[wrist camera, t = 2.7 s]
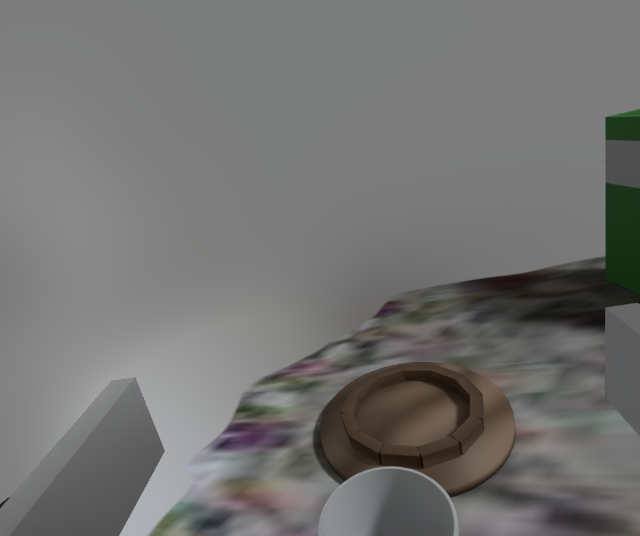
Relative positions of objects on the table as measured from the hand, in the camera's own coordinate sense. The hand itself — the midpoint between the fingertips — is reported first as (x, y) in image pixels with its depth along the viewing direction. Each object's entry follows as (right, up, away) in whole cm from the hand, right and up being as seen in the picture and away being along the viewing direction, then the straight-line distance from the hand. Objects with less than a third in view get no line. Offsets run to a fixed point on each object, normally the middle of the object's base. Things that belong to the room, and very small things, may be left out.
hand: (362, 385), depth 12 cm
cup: (+5, -21, +17) cm, 27 cm away
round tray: (+9, -13, +35) cm, 38 cm away
